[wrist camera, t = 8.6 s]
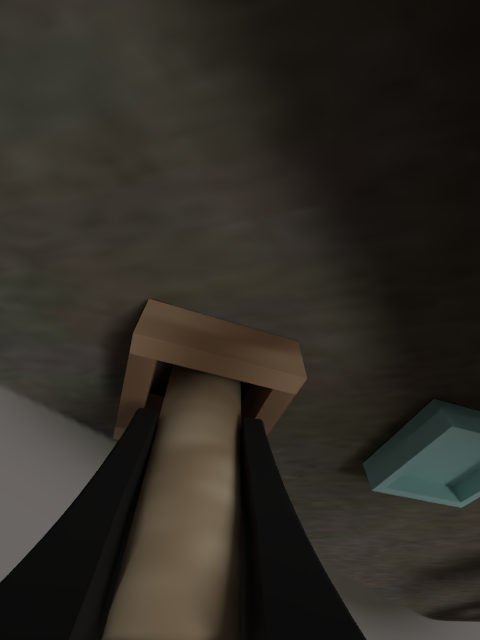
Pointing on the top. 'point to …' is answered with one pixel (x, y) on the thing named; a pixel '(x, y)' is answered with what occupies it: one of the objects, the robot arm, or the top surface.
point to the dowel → (186, 520)
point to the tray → (431, 457)
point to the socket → (210, 361)
